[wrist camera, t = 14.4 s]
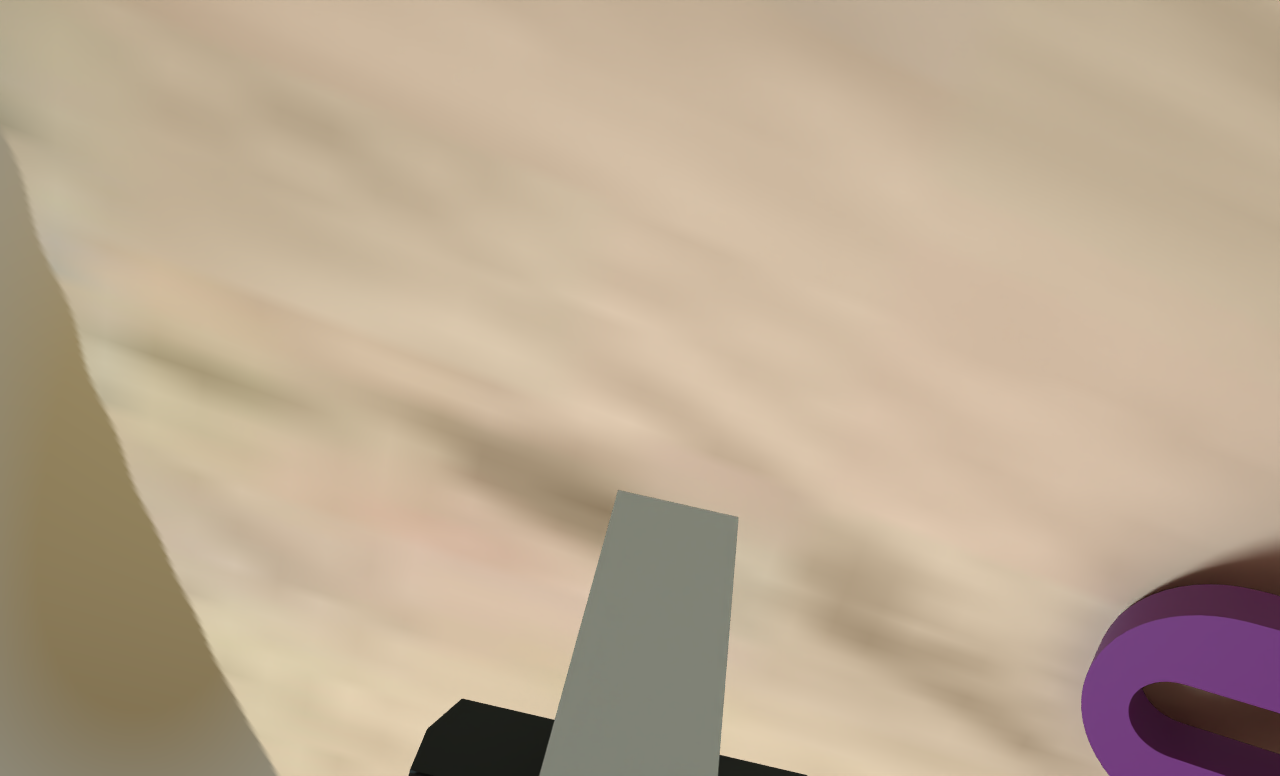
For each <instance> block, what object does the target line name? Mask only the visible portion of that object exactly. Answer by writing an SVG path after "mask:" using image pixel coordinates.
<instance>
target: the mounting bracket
mask: <svg viewBox="0 0 1280 776" xmlns="http://www.w3.org/2000/svg"><path fill="white" fill-rule="evenodd" d="M1156 682H1175V683H1180V684H1184V685H1188V686H1191V687H1194V688H1198V689H1201V690H1204V691H1207V692H1211V693H1214V694H1217V695H1221V696H1224V697H1227V698H1231V699H1234V700H1237V701H1240V702H1244V703H1247V704H1250V705H1254V706H1257V707H1260V708H1264V709H1267V710H1270V711H1273V712H1277V713H1280V596H1278V595H1274V594H1270V593H1266V592H1262V591H1258V590H1254V589H1249V588H1244V587H1238V586H1230V585H1215V584H1204V585H1190V586H1182V587H1177V588H1172V589H1168V590H1164V591H1161V592H1159V593H1156V594H1153V595H1150V596H1148V597H1146V598H1144V599H1142V600H1140V601H1138V602H1137V603H1135V604H1134V605H1132V606H1131V607H1129V608H1128V609H1127V610H1125V611H1124V612H1123V613H1122V614H1121V615H1119V617H1118V618H1117V619H1116V620H1115V621H1114V623H1113V624H1112V625H1111V626H1110V628H1109V629H1108V631H1107V632H1106V634H1105V636H1104V637H1103V639H1102V642H1101V644H1100V646H1099V648H1098V650H1097V652H1096V655H1095V657H1094V659H1093V661H1092V664H1091V666H1090V668H1089V671H1088V673H1087V675H1086V679H1085V682H1084V685H1083V691H1082V699H1081V710H1082V718H1083V723H1084V727H1085V731H1086V734H1087V737H1088V740H1089V742H1090V745H1091V747H1092V749H1093V751H1094V753H1095V755H1096V757H1097V758H1098V760H1099V761H1100V763H1101V765H1102V766H1103V768H1104V769H1105V770H1106V772H1107V773H1108V774H1109V776H1280V754H1277V753H1274V752H1271V751H1268V750H1265V749H1262V748H1259V747H1255V746H1252V745H1249V744H1246V743H1243V742H1240V741H1237V740H1234V739H1230V738H1227V737H1224V736H1221V735H1218V734H1215V733H1212V732H1208V731H1205V730H1202V729H1199V728H1196V727H1193V726H1190V725H1187V724H1183V723H1180V722H1178V721H1175V720H1173V719H1171V718H1169V717H1167V716H1165V715H1164V714H1162V713H1161V712H1160V711H1158V710H1157V709H1156V708H1155V707H1154V706H1153V705H1152V704H1151V703H1150V702H1149V700H1148V699H1147V697H1146V696H1145V694H1144V692H1143V689H1142V687H1144V686H1146V685H1149V684H1152V683H1156Z"/></svg>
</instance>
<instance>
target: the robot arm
mask: <svg viewBox="0 0 1280 776" xmlns="http://www.w3.org/2000/svg"><path fill="white" fill-rule="evenodd" d="M737 529H738V517H736V516H731V515H727V514H722V513H718V512H714V511H709V510H705V509H700V508H696V507H691V506H687V505H683V504H678V503H674V502H669V501H665V500H660V499H656V498H651V497H647V496H643V495H638V494H634V493H629V492H625V491H620V490H618V492H617V496H616V500H615V503H614V507H613V510H612V514H611V518H610V521H609V525H608V529H607V532H606V536H605V539H604V543H603V547H602V550H601V554H600V558H599V561H598V565H597V568H596V572H595V576H594V579H593V583H592V587H591V590H590V594H589V597H588V601H587V605H586V608H585V612H584V616H583V619H582V623H581V626H580V630H579V634H578V637H577V641H576V645H575V648H574V652H573V655H572V659H571V663H570V666H569V670H568V674H567V677H566V681H565V684H564V688H563V692H562V695H561V699H560V702H559V706H558V710H557V713H556V717H555V720H552V719H548V718H544V717H539V716H535V715H531V714H526V713H522V712H518V711H514V710H509V709H505V708H501V707H496V706H492V705H488V704H483V703H479V702H475V701H470V700H466V699H461V700H460V701H459V702H458V703H456V704H455V705H454V706H453V707H452V708H451V709H450V710H448V711H447V712H446V713H445V714H444V715H443V716H442V717H440V718H439V719H438V720H437V721H436V722H435V723H434V724H432V725H431V726H430V727H429V728H428V729H427V731H426V733H425V735H424V738H423V740H422V743H421V745H420V747H419V750H418V752H417V755H416V757H415V759H414V762H413V764H412V766H411V769H410V773H409V776H807V775H804V774H800V773H795V772H791V771H787V770H782V769H778V768H774V767H769V766H765V765H761V764H757V763H752V762H748V761H744V760H739V759H735V758H731V757H726V756H722V755H719V754H720V742H721V729H722V717H723V704H724V692H725V679H726V667H727V654H728V642H729V629H730V617H731V604H732V592H733V579H734V567H735V554H736V542H737Z"/></svg>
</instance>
